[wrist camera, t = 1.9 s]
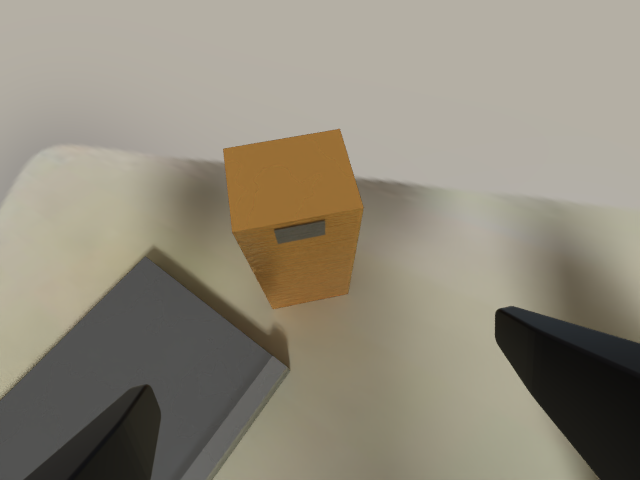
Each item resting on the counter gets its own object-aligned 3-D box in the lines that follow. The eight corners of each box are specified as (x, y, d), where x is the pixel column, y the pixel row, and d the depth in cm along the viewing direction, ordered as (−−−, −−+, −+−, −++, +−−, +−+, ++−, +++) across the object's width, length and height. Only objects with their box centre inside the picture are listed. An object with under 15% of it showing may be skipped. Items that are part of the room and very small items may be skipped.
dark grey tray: (88, 653, 16) (58, 684, 14) (-52, 470, 19) (-91, 477, 18) (290, 370, 21) (286, 366, 20) (153, 263, 25) (139, 251, 23)
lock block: (348, 294, 23) (363, 208, 13) (272, 310, 23) (232, 233, 13) (334, 239, 25) (339, 128, 15) (264, 253, 25) (223, 147, 15)
